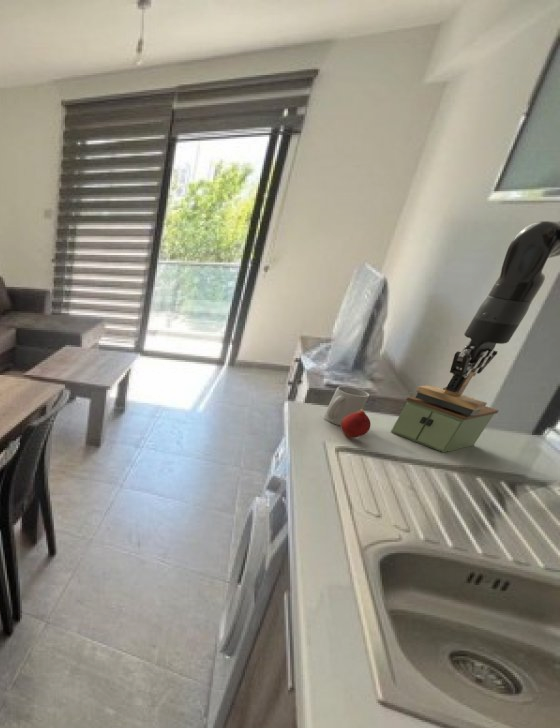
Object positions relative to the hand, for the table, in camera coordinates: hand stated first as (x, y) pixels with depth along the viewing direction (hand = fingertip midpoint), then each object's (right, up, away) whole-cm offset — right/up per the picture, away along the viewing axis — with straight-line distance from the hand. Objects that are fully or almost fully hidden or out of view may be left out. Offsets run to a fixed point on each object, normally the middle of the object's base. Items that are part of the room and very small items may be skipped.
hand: (454, 390), depth 116 cm
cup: (-16, -7, +16) cm, 24 cm away
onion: (-20, -12, +8) cm, 24 cm away
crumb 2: (+3, -4, +3) cm, 6 cm away
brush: (0, -4, +2) cm, 4 cm away
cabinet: (+4, -12, +10) cm, 16 cm away
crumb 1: (+6, -2, +7) cm, 10 cm away
